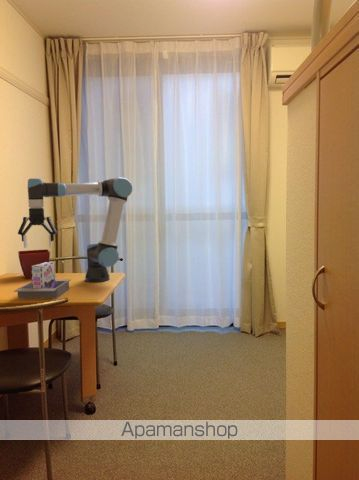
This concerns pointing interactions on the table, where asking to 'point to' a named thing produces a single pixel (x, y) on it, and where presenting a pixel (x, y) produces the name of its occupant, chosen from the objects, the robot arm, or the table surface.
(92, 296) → the table surface
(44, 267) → the candy box
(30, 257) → the plant pot
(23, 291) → the grey rectangular frame
